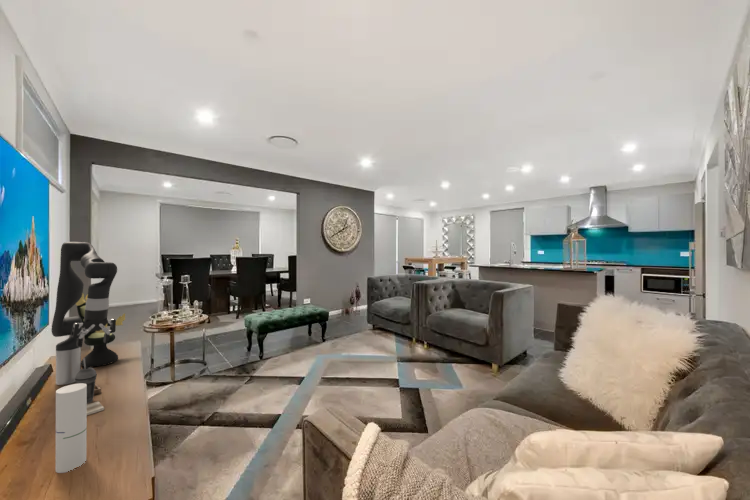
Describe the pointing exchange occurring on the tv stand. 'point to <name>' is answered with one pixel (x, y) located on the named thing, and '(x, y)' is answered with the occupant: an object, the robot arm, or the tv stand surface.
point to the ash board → (94, 408)
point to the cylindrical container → (71, 427)
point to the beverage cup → (87, 380)
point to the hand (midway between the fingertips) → (92, 344)
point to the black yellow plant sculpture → (97, 341)
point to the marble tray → (97, 389)
